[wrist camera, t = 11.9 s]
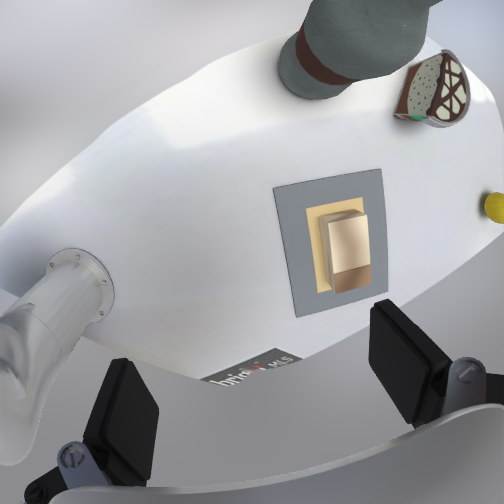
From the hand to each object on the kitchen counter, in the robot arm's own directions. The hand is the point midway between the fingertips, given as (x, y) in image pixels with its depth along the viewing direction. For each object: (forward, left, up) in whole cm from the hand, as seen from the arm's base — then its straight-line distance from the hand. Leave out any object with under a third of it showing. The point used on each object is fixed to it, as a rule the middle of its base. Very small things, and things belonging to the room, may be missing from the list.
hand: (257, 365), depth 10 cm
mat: (+14, -9, -30) cm, 34 cm away
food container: (+31, +11, -30) cm, 44 cm away
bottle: (+14, +16, -30) cm, 37 cm away
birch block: (+14, -8, -29) cm, 33 cm away
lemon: (+47, -8, -30) cm, 56 cm away
